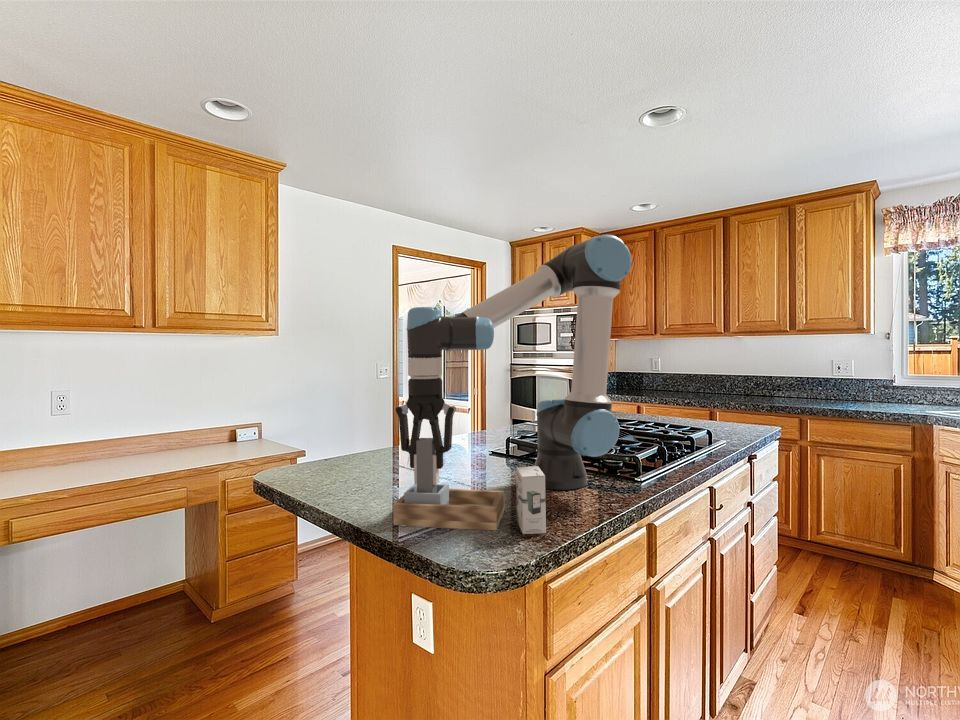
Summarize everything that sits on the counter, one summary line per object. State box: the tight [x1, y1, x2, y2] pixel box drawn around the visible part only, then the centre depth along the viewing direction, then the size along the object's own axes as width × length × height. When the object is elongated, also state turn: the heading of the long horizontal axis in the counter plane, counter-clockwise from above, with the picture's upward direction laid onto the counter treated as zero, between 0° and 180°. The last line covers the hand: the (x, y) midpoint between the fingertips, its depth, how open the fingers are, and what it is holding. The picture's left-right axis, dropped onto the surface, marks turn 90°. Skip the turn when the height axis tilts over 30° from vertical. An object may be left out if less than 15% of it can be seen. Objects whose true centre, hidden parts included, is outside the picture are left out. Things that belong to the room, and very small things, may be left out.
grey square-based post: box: [403, 437, 450, 505], centre depth 112 cm, size 8×8×15 cm
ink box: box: [515, 465, 547, 535], centre depth 104 cm, size 9×5×12 cm, turn 5°
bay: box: [392, 488, 505, 531], centre depth 111 cm, size 22×13×4 cm, turn 80°
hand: (427, 482), depth 112 cm, fingers closed on grey square-based post, 3 cm apart
